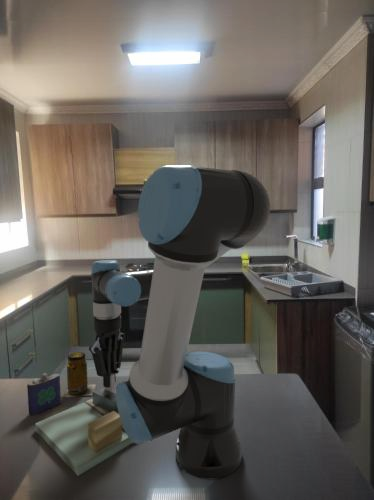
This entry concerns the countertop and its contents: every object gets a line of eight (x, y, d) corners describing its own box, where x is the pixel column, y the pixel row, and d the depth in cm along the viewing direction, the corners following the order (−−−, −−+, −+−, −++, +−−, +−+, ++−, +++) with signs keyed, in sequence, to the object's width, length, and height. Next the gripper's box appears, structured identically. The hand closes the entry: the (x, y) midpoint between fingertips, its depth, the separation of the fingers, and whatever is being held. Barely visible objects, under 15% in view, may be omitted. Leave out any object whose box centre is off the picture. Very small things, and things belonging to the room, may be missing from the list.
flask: (58, 400, 99) (57, 366, 98) (63, 404, 97) (62, 369, 96) (27, 414, 92) (25, 377, 91) (31, 418, 90) (29, 381, 89)
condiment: (69, 386, 108) (68, 350, 107) (96, 384, 109) (95, 349, 108) (63, 398, 101) (62, 360, 100) (92, 396, 102) (90, 358, 101)
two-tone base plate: (162, 424, 87) (161, 397, 86) (77, 476, 70) (76, 442, 69) (114, 394, 102) (113, 371, 102) (35, 430, 85) (34, 403, 84)
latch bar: (140, 415, 87) (140, 401, 87) (129, 423, 84) (129, 408, 84) (102, 398, 96) (102, 385, 95) (91, 404, 93) (90, 390, 92)
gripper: (112, 308, 99) (114, 382, 102) (80, 320, 88) (83, 404, 90) (132, 311, 96) (134, 388, 98) (101, 324, 84) (104, 411, 87)
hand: (110, 395), depth 94 cm, fingers closed
